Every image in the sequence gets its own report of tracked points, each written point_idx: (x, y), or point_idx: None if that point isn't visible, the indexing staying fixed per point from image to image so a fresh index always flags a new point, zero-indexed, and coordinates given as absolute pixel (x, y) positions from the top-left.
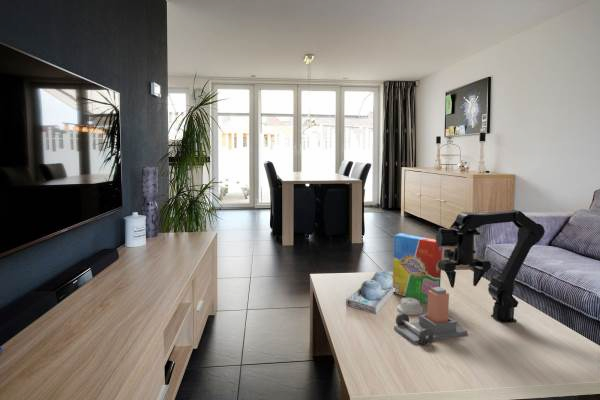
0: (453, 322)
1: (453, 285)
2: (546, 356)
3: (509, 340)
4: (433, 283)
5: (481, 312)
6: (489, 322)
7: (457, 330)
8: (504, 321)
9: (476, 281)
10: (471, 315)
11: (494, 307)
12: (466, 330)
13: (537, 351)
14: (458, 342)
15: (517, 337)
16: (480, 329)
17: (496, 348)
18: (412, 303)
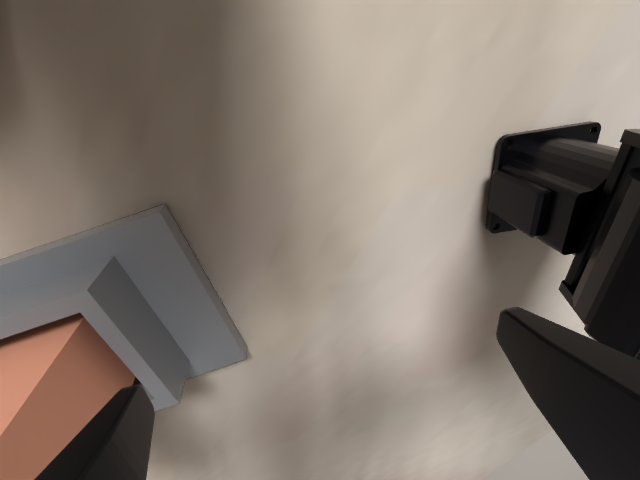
0: (158, 409)
1: (135, 467)
2: (434, 441)
3: (395, 374)
4: None
5: (485, 66)
6: (429, 222)
7: (196, 359)
8: (505, 230)
9: (554, 429)
10: (386, 119)
11: (535, 206)
12: (243, 355)
13: (432, 423)
14: (180, 407)
15: (443, 352)
16: (334, 299)
17: (311, 424)
18: None
